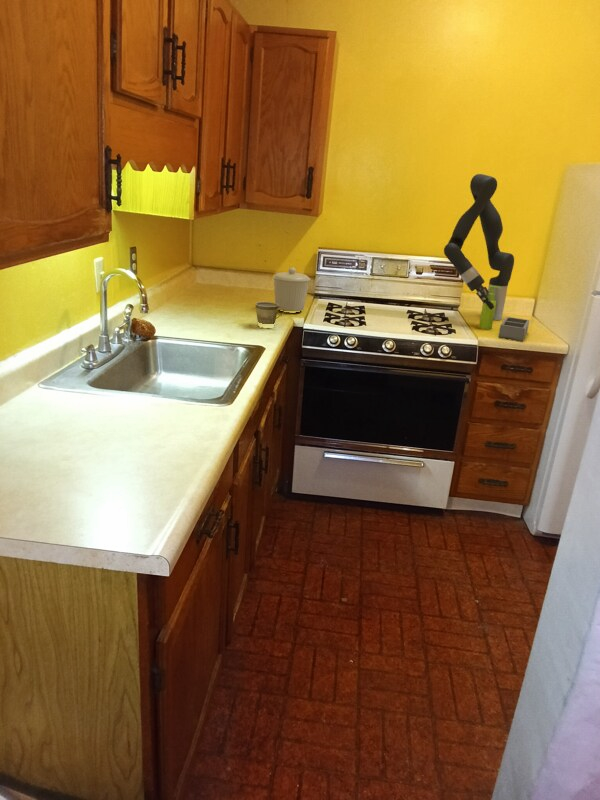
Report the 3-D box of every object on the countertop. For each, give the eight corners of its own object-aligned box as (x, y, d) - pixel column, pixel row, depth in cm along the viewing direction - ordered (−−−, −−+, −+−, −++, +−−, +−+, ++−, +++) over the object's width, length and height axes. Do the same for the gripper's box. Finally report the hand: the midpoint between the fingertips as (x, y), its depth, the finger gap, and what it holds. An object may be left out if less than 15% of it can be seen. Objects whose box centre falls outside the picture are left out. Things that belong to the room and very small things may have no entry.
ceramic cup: (250, 327, 264) (251, 304, 261) (260, 323, 273) (261, 300, 269) (278, 332, 260) (279, 308, 256) (287, 327, 269) (288, 304, 265)
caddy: (504, 329, 295) (506, 316, 293) (527, 332, 291) (529, 320, 289) (498, 337, 277) (500, 324, 275) (522, 341, 273) (525, 328, 271)
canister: (301, 307, 310) (304, 265, 303) (313, 315, 294) (316, 271, 287) (266, 307, 305) (268, 264, 297) (276, 315, 289) (279, 270, 281)
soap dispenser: (494, 330, 291) (502, 288, 284) (479, 328, 292) (486, 286, 285) (493, 327, 296) (500, 286, 289) (478, 325, 297) (485, 284, 291)
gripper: (476, 275, 282) (498, 305, 282) (481, 272, 294) (502, 300, 294) (463, 285, 286) (484, 314, 286) (468, 281, 298) (489, 309, 298)
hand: (493, 307), depth 290 cm, fingers closed on soap dispenser, 6 cm apart
